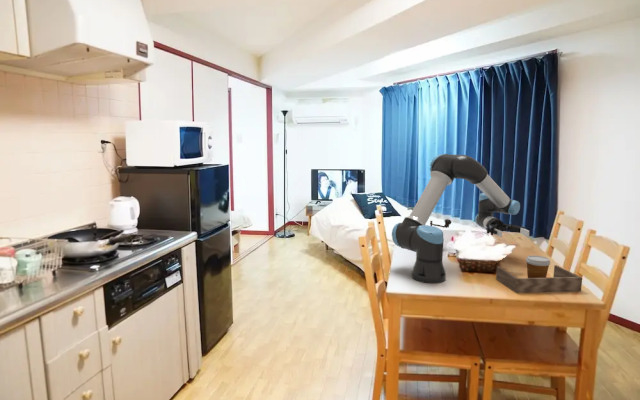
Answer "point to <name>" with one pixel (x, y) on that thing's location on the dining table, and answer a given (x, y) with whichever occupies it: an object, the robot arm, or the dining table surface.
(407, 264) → the dining table surface
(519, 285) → the walnut crate
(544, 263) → the disposable coffee cup
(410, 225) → the robot arm
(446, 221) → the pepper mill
